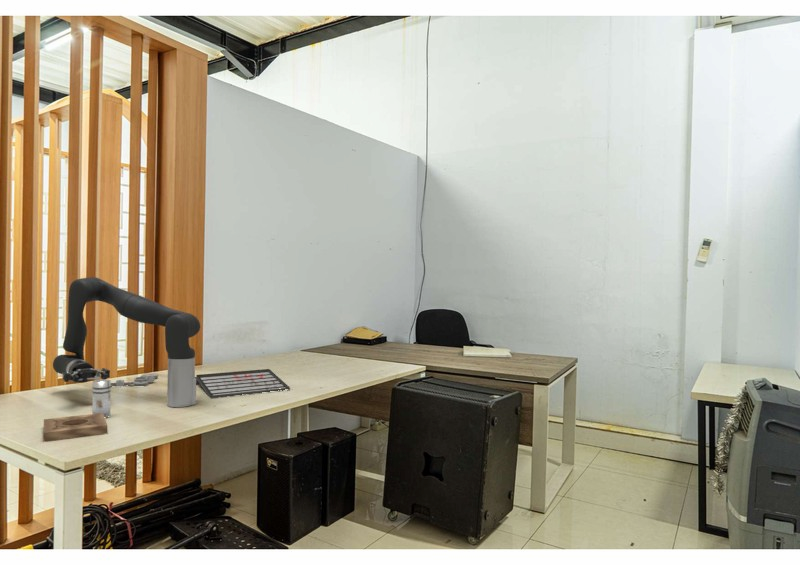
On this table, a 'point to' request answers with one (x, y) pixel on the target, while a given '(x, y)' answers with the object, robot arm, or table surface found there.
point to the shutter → (240, 383)
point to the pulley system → (137, 380)
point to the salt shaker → (101, 397)
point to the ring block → (74, 426)
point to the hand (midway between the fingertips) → (91, 378)
